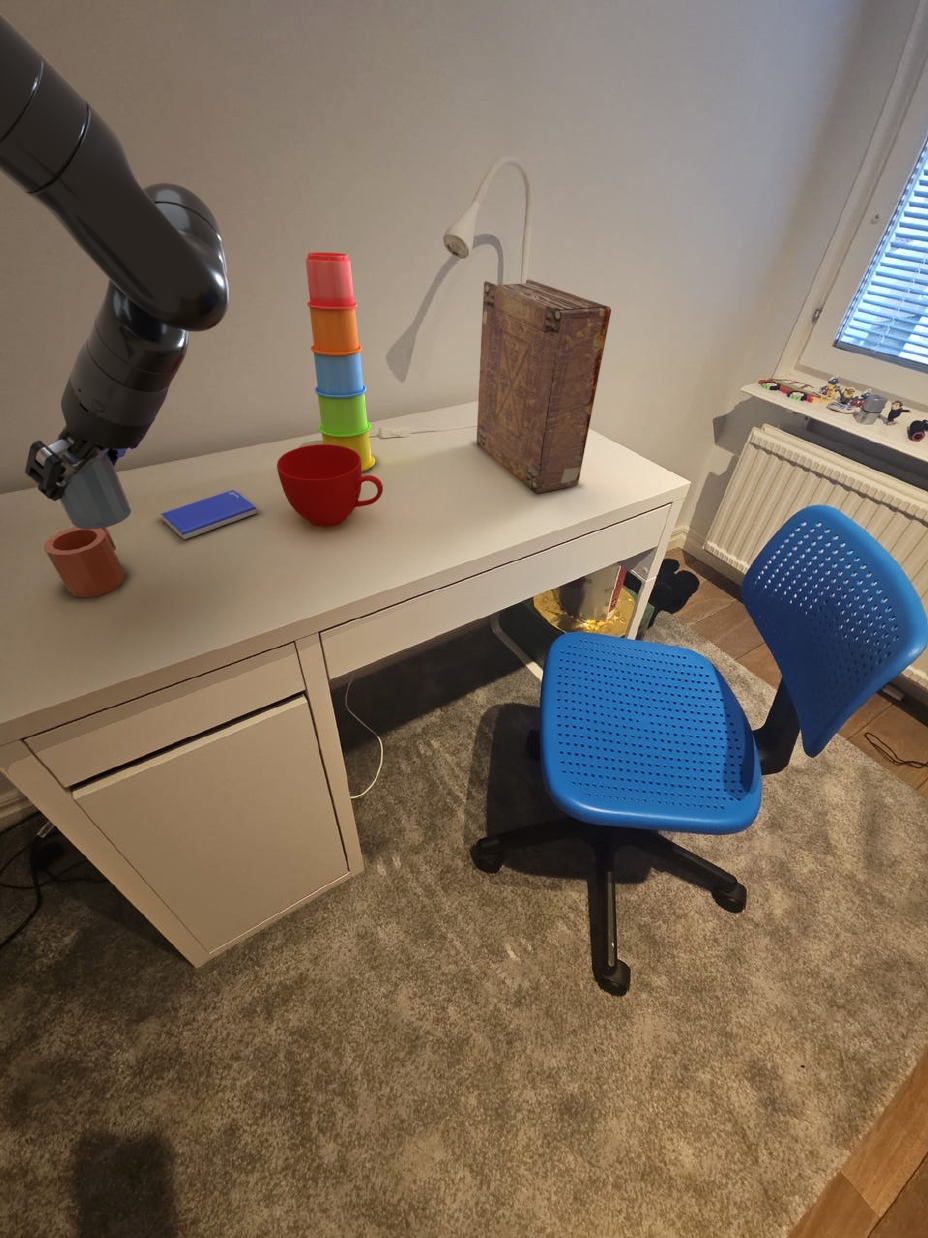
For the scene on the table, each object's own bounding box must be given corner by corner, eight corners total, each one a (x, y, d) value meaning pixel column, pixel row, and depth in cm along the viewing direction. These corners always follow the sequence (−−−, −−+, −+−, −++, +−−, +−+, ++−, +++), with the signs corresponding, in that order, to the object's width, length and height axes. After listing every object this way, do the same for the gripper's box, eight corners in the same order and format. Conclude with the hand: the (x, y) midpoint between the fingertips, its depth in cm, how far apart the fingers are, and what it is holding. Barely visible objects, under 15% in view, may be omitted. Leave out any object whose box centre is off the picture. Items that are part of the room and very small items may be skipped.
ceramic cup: (368, 548, 84) (362, 490, 77) (272, 529, 87) (259, 471, 81) (399, 509, 93) (397, 454, 87) (312, 493, 97) (303, 439, 90)
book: (475, 442, 116) (483, 280, 97) (513, 436, 119) (527, 278, 100) (537, 494, 99) (561, 310, 79) (578, 486, 102) (611, 306, 83)
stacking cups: (311, 464, 106) (277, 252, 83) (351, 449, 112) (330, 247, 89) (345, 481, 101) (319, 261, 78) (386, 464, 107) (372, 255, 84)
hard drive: (232, 488, 94) (160, 512, 87) (255, 505, 90) (181, 532, 83) (234, 496, 95) (163, 520, 88) (257, 514, 91) (184, 540, 84)
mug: (110, 597, 73) (88, 554, 68) (57, 597, 73) (32, 554, 68) (142, 556, 81) (124, 514, 76) (94, 555, 80) (73, 514, 76)
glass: (116, 530, 63) (87, 466, 58) (60, 529, 63) (27, 464, 58) (140, 503, 68) (115, 442, 63) (88, 502, 68) (59, 441, 63)
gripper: (141, 340, 57) (98, 433, 67) (15, 379, 47) (-13, 481, 57) (197, 399, 59) (147, 479, 70) (89, 448, 49) (49, 534, 59)
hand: (75, 480), depth 63 cm, fingers closed on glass, 6 cm apart
